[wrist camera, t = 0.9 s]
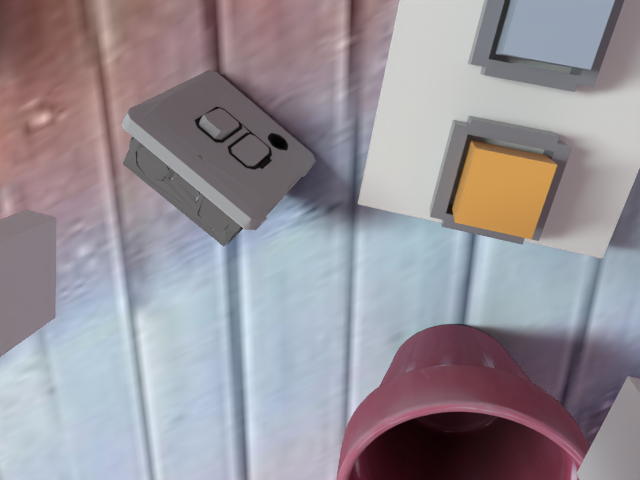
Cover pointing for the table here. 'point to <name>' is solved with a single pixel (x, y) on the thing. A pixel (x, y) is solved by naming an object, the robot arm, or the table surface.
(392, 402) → the plant pot
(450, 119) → the switch panel
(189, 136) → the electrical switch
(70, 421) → the table surface
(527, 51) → the grey button
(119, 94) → the table surface
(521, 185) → the orange button
